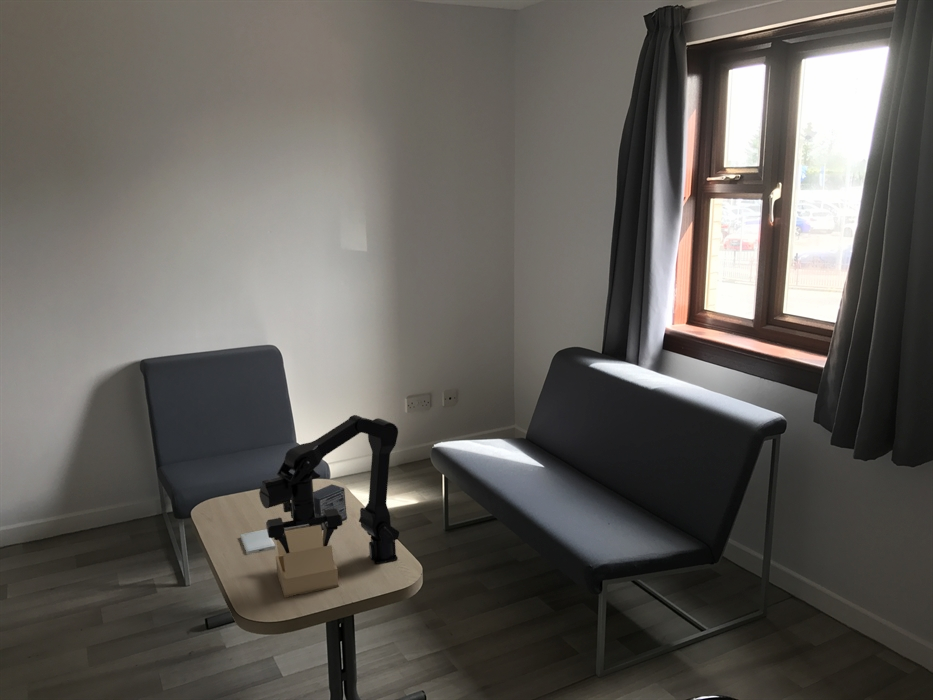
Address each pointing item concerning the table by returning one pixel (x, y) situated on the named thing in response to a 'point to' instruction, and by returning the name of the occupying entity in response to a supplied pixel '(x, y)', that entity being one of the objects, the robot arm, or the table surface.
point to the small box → (330, 501)
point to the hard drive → (257, 541)
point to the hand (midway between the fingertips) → (306, 553)
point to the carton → (305, 580)
